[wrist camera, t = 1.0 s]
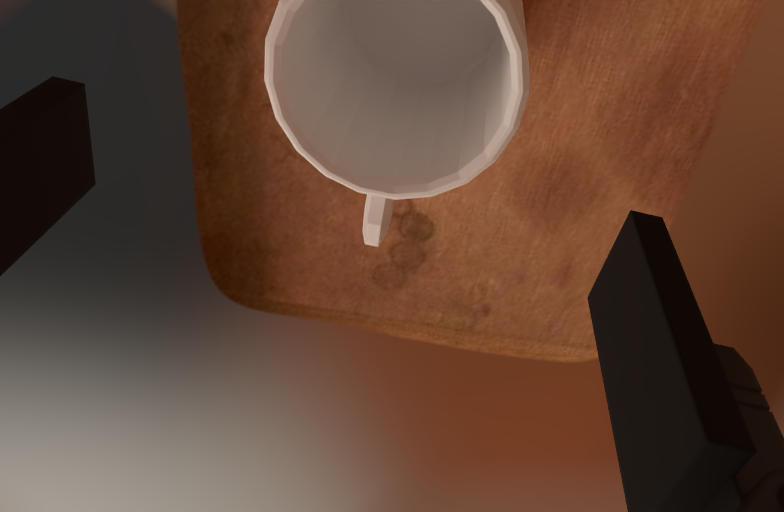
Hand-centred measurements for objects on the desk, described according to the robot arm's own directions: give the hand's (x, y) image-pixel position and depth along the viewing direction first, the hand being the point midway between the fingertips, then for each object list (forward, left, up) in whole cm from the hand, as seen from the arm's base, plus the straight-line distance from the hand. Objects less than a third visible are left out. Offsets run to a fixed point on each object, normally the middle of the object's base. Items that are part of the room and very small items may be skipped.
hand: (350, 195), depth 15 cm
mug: (+1, 0, -15) cm, 15 cm away
